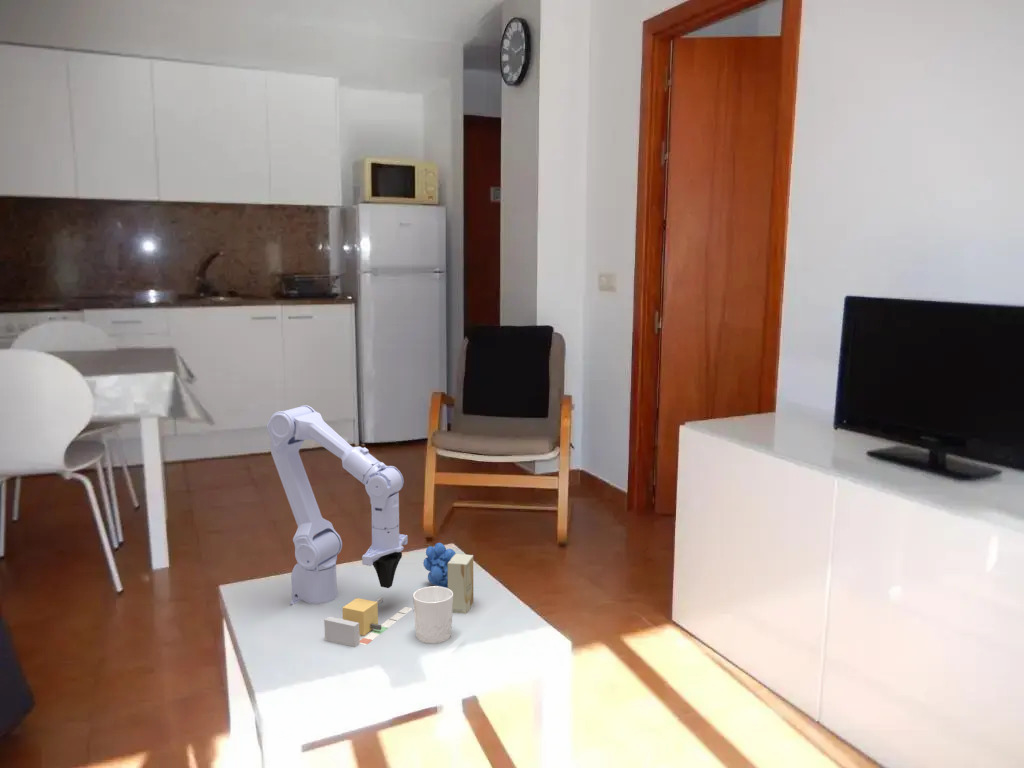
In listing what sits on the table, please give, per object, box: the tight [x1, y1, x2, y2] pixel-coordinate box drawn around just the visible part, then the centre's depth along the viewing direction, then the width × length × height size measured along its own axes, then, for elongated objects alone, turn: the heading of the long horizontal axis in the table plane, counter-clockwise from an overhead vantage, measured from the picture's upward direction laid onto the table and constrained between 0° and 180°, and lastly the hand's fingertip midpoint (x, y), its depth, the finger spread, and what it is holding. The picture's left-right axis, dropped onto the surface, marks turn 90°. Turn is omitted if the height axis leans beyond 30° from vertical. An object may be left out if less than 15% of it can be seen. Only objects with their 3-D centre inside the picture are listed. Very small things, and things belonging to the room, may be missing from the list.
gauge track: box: [323, 596, 414, 648], centre depth 158 cm, size 11×22×6 cm, turn 157°
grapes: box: [423, 542, 457, 588], centre depth 173 cm, size 12×7×12 cm, turn 56°
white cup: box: [412, 585, 453, 644], centre depth 151 cm, size 8×8×10 cm
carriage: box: [341, 597, 382, 637], centre depth 154 cm, size 7×5×5 cm
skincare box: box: [448, 553, 475, 615], centre depth 164 cm, size 6×4×12 cm
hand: (386, 586), depth 163 cm, fingers closed
